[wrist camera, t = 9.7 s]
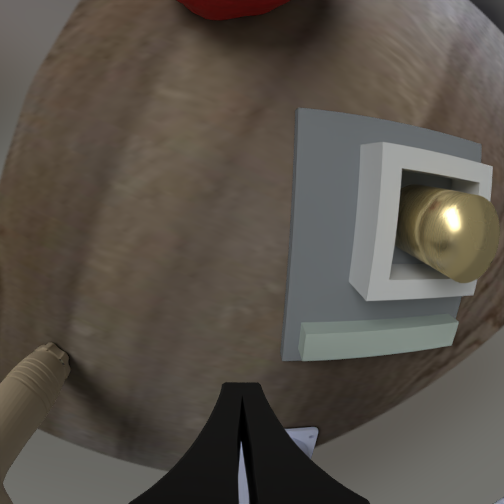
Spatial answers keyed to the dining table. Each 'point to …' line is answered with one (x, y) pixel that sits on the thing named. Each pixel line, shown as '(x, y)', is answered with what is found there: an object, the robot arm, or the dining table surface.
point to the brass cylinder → (448, 230)
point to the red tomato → (230, 7)
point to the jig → (368, 237)
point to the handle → (28, 402)
